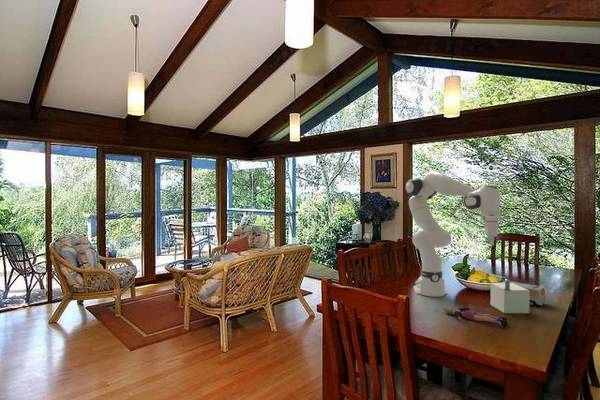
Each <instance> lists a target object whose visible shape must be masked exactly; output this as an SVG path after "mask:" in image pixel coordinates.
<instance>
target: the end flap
mask: <svg viewBox="0 0 600 400" xmlns="http://www.w3.org/2000/svg"><path fill="white" fill-rule="evenodd" d="M510 282H511V281H510V280H509V279H505V280H504V283H505V289H504V290H505V313H504V314H530V290H510Z"/></svg>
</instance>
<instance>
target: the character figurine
mask: <svg viewBox="0 0 600 400" xmlns="http://www.w3.org/2000/svg"><path fill="white" fill-rule="evenodd" d="M472 310H473V307H472V306H471V307H459V308H454V309H453V308H452V307H450V306H444V307H443V311H444V312H445V314H448V315H449V316H450V315H452V316H454V317H456V318H458V320H459V321H462V318H465V319H467V320H469V321H474V322H475V321H479V322H480V321H481V322H483V321H485V322H490V323H496V324H499V325H500V326H501V328H502V329H505V328H506V326H508V318H506V317H502V316H501V317H500V316H499V317H498V316H494V315H493V314H492V315H491V314H489V313H488V314H487V313H484V314H482V313H479V312H476V311H472Z"/></svg>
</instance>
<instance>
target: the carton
mask: <svg viewBox="0 0 600 400" xmlns="http://www.w3.org/2000/svg"><path fill="white" fill-rule="evenodd" d="M504 289H505V282H491V283H490V303H489V304H490V306H492V307H493V308H495V309H497V310H498V311H500V312H502V313H503V314H506V313H505V290H504ZM510 290H527V289H525V288H523V287H520V286H518V285H516V284H513V283H510Z"/></svg>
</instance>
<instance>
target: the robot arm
mask: <svg viewBox="0 0 600 400" xmlns="http://www.w3.org/2000/svg"><path fill="white" fill-rule="evenodd" d="M404 187H405V188H404V189H405V192H406V194H408V195H409V196H411V197H409V199H408V207H409V209H410V213H411V216H412V218H413V221H414V223H415V225H416V227H419V228H420V229H422V230H419V231H416V232H414V234H413V235H412V239H411V240H412V244H413V245H414V247H416V248H417V249H418V251H419V253H420V257H421V271H420V276H419V277H418V279H416V280H415V285H413V289H414V293H415V294H417V295H422V296H426V297H433V298H434V297H435V298H438V297H439V298H440V297H443V296H445V295H448V292H447V291H446V286H445V285H446V284H445V280H444V279H443V271H442V263H443V261H442V258H441V256H439V255H438V254H437V252H436V249H437V248H438V249H439V248H444V247H447V246H449V245H451V242H452V235H451V233H450V232H449V231H448V230H446V229H444V228H443V227H442V226H441V225H440V224H439V223H438V222H437V221H436V220H435V218H434V216H433V213H431V210H430V207H429V205H428V203H427V200H431V199H432V197H434V196H435V195H436V194H437V193H438V194H441V195H443V196H444V195H445V196H459V197H463V205H464V207H465V208H466V209H467V210H469V211H470V210H471V211H480V220H481V221H483V224H484V232H485V234H486V235H487V243H488V244H489V245H490V246H494V245H495V238H496V237H497V236H498V233H499V232H498V231H499V222H500V221H501V209H500V205H501V193H500V189H499V187H498V186H496V185H489V184H488V185H487V184H485V185H482V186H480V188H478V189H476V188H473V187H471V186H469V185H466V184H464V183H462V182H459V181H458V180H456V179H454V178H452V177H450V176H448V175H446V174H444V173H441V172H438V171H433V170H431V171H428V172H426V173H425V176H424V178H419V177H418V178H413V179H412V178H411V179H409V180H408V181H407V182H406V183H405V185H404Z"/></svg>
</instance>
